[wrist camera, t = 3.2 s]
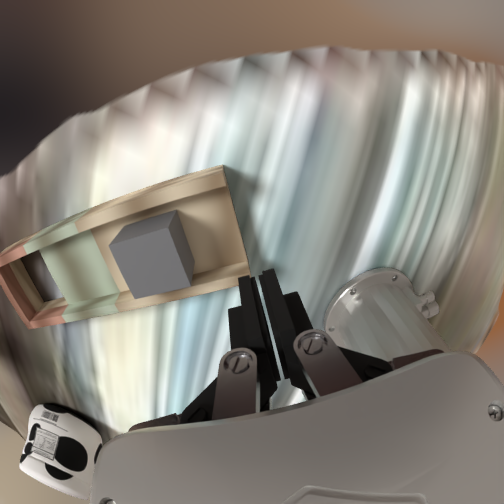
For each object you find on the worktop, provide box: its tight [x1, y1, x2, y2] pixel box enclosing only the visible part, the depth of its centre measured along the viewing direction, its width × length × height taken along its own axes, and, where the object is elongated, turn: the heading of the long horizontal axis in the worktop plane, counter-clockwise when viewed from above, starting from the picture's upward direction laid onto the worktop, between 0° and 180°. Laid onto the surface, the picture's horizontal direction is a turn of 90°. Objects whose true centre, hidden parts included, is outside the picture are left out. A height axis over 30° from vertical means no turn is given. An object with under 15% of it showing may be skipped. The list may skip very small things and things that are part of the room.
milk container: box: [20, 404, 102, 500], centre depth 33 cm, size 17×17×18 cm
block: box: [109, 209, 195, 299], centre depth 21 cm, size 5×5×4 cm
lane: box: [0, 165, 251, 329], centre depth 23 cm, size 28×10×4 cm, turn 103°
